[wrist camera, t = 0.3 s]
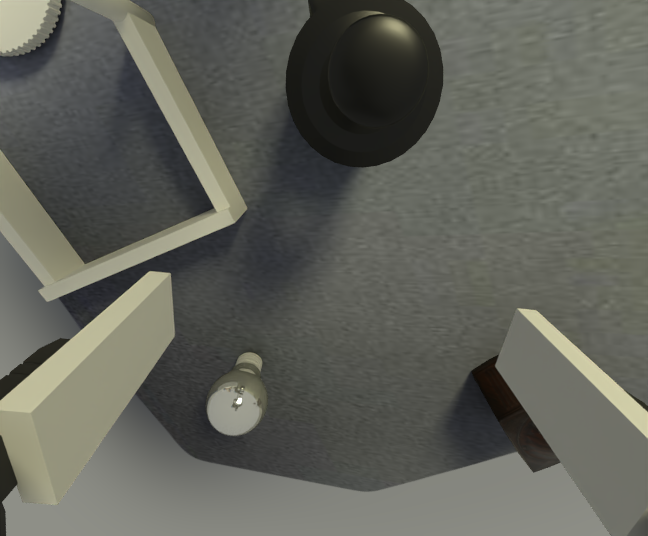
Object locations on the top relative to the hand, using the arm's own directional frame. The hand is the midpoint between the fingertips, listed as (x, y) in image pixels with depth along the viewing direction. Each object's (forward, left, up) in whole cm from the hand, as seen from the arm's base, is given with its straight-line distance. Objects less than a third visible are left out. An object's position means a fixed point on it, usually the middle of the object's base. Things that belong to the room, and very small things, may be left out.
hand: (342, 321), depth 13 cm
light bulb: (+24, -9, -28) cm, 37 cm away
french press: (-9, 0, -28) cm, 29 cm away
